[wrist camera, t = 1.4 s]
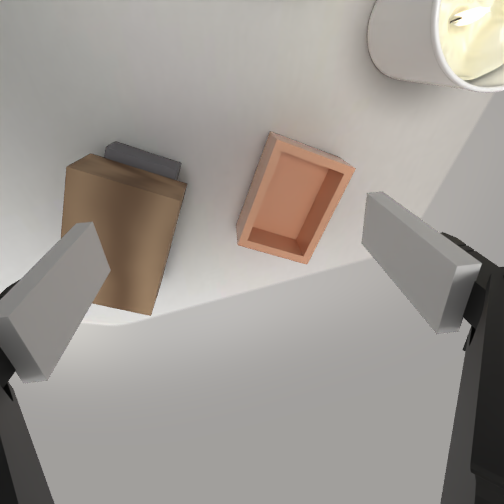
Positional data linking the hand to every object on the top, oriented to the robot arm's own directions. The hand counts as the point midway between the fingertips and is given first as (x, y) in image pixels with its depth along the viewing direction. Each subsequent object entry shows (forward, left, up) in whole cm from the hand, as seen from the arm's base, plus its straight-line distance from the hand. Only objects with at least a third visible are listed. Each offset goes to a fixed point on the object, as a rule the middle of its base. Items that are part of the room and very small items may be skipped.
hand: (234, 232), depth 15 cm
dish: (+7, -2, -20) cm, 21 cm away
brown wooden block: (-8, -10, -17) cm, 21 cm away
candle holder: (+12, +16, -20) cm, 28 cm away
